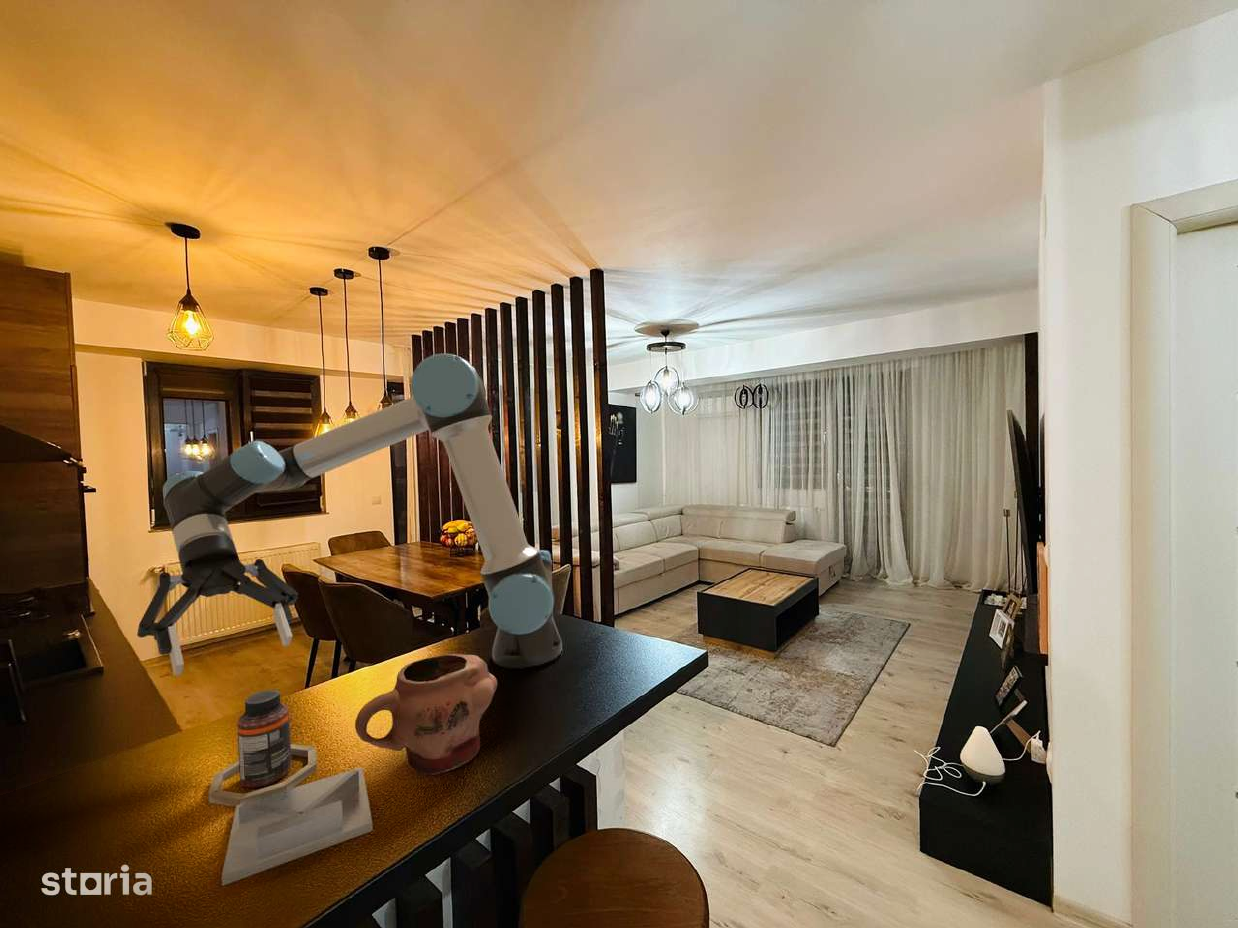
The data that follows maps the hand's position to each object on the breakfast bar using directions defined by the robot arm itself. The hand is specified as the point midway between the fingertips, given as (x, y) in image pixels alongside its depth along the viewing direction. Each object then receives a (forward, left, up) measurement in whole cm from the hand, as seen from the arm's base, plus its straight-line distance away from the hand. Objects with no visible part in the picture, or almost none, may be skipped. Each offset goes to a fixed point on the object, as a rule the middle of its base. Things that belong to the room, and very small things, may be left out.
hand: (237, 654), depth 77 cm
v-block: (-8, +23, -15) cm, 28 cm away
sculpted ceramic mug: (-24, +20, -15) cm, 35 cm away
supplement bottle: (-4, +10, -15) cm, 18 cm away
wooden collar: (-4, +10, -15) cm, 18 cm away
